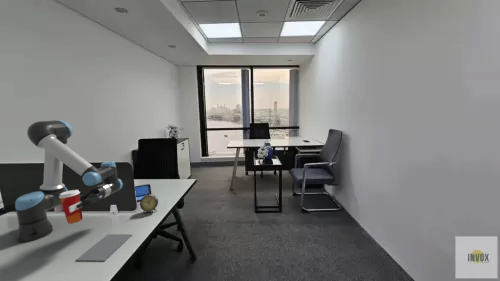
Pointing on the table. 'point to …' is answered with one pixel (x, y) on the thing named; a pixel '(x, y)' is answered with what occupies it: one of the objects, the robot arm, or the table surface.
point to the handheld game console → (142, 191)
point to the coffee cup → (69, 200)
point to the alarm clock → (149, 202)
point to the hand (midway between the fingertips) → (62, 210)
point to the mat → (104, 247)
